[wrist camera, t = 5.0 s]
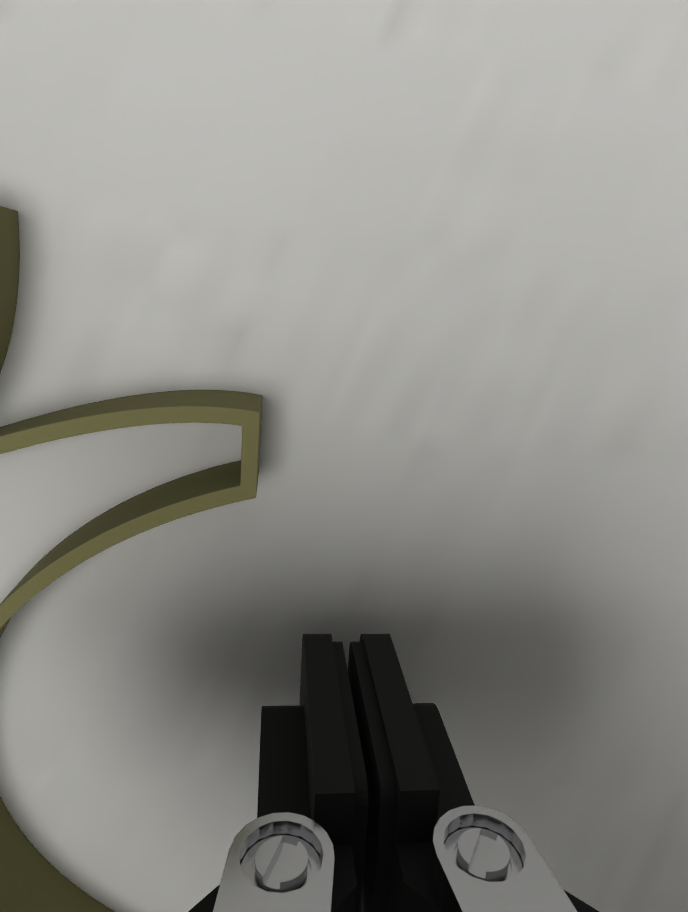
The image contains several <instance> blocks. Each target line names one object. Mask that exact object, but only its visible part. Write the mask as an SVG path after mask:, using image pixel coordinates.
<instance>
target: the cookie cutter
mask: <svg viewBox="0 0 688 912" xmlns="http://www.w3.org/2000/svg"><path fill="white" fill-rule="evenodd" d="M19 259H20V251H19V223H18V211H15V210H11V209H8V208H5V207H1V206H0V372H1V369H2V366H3V363H4V360H5V357H6V353H7V350H8V346H9V342H10V338H11V333H12V328H13V323H14V317H15V311H16V304H17V295H18V283H19ZM261 410H262V395H257V394H251V393H244V392H235V391H222V390H184V391H168V392H158V393H149V394H141V395H134V396H127V397H121V398H115V399H110V400H104V401H99V402H94V403H90V404H85V405H80V406H76V407H72V408H68V409H63V410H60V411H56V412H52V413H48V414H44V415H40V416H37V417H33V418H30V419H26V420H23V421H19V422H16V423H13V424H9V425H6V426H3V427H0V454H2V453H6V452H9V451H13V450H17V449H20V448H24V447H28V446H32V445H36V444H40V443H44V442H49V441H53V440H58V439H62V438H67V437H71V436H77V435H82V434H87V433H92V432H98V431H104V430H111V429H117V428H124V427H132V426H141V425H151V424H164V423H190V422H198V423H223V424H233V425H242V426H243V427H242V455H241V460H240V461H236V462H232V463H228V464H224V465H220V466H216V467H213V468H209V469H206V470H202V471H199V472H196V473H193V474H190V475H187V476H184V477H181V478H178V479H175V480H173V481H170V482H167V483H165V484H162V485H160V486H157V487H155V488H153V489H150V490H148V491H146V492H143V493H141V494H139V495H137V496H135V497H133V498H131V499H129V500H127V501H125V502H123V503H121V504H119V505H117V506H115V507H113V508H112V509H110V510H108V511H106V512H105V513H103V514H101V515H99V516H98V517H96V518H95V519H93V520H91V521H90V522H88V523H87V524H85V525H84V526H82V527H81V528H79V529H78V530H77V531H75V532H74V533H72V534H71V535H70V536H68V537H67V538H66V539H64V540H63V541H62V542H61V543H59V544H58V545H57V546H56V547H55V548H53V549H52V550H51V551H50V552H49V553H48V554H47V555H45V556H44V557H43V558H42V559H41V560H40V561H39V562H38V563H37V564H36V565H35V566H34V567H33V568H32V569H31V570H30V571H29V572H28V573H27V574H26V576H25V577H24V578H23V579H22V580H21V581H20V582H19V583H18V585H17V586H16V587H15V588H14V589H13V590H12V591H11V592H10V594H9V595H8V596H7V597H6V598H5V599H4V600H3V602H2V603H1V604H0V637H1V635H2V633H3V631H4V629H5V627H6V625H7V623H8V622H9V620H10V618H11V617H12V616H13V615H14V614H15V613H16V612H17V611H18V610H19V609H20V608H21V607H22V606H23V605H24V604H25V603H27V602H28V601H29V600H30V599H31V598H32V597H34V596H35V595H36V594H37V593H39V592H40V591H41V590H42V589H44V588H45V587H46V586H48V585H49V584H50V583H52V582H53V581H55V580H56V579H57V578H59V577H60V576H62V575H63V574H65V573H66V572H68V571H69V570H71V569H72V568H74V567H75V566H77V565H79V564H80V563H82V562H84V561H85V560H87V559H89V558H91V557H92V556H94V555H96V554H98V553H100V552H101V551H103V550H105V549H107V548H109V547H111V546H113V545H115V544H117V543H119V542H121V541H124V540H126V539H128V538H130V537H132V536H135V535H137V534H139V533H141V532H144V531H146V530H149V529H151V528H154V527H156V526H159V525H162V524H164V523H167V522H170V521H173V520H176V519H178V518H181V517H184V516H187V515H191V514H194V513H197V512H201V511H204V510H207V509H211V508H215V507H218V506H222V505H226V504H230V503H234V502H239V501H243V500H248V499H253V498H256V492H257V483H258V474H259V456H260V433H261ZM0 912H114V911H113V910H111V909H109V908H108V907H106V906H104V905H103V904H101V903H100V902H98V901H97V900H95V899H94V898H92V897H91V896H89V895H88V894H87V893H85V892H84V891H82V890H81V889H80V888H78V887H77V886H76V885H75V884H73V883H72V882H71V881H69V880H68V879H67V878H66V877H65V876H63V875H62V874H61V873H60V872H59V871H58V870H57V869H56V868H54V867H53V866H52V865H51V864H50V863H49V862H48V861H47V860H46V859H45V858H44V857H43V856H42V855H41V854H40V853H39V852H38V851H37V849H36V848H35V847H34V846H33V845H32V844H31V843H30V841H29V840H28V839H27V838H26V836H25V835H24V834H23V833H22V831H21V830H20V828H19V827H18V826H17V824H16V823H15V821H14V820H13V818H12V817H11V815H10V813H9V812H8V810H7V808H6V807H5V805H4V803H3V801H2V799H1V797H0Z"/></svg>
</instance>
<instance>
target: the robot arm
mask: <svg viewBox="0 0 688 912" xmlns="http://www.w3.org/2000/svg"><path fill="white" fill-rule="evenodd" d="M189 912H599V911H597V910H595V909H594V908H592V907H591V906H589V905H587V904H586V903H584V902H583V901H581V900H579V899H578V898H576V897H574V896H573V895H571V894H570V893H568V892H566V891H565V890H563V888H562V887H561V885H560V884H559V882H558V881H557V879H556V877H555V876H554V874H553V873H552V871H551V870H550V868H549V866H548V865H547V863H546V862H545V860H544V859H543V857H542V855H541V854H540V852H539V851H538V849H537V848H536V846H535V844H534V843H533V841H532V840H531V838H530V837H529V836H528V834H527V833H526V832H525V831H524V830H523V828H522V827H521V826H520V825H519V824H518V823H516V822H515V821H514V820H512V819H511V818H510V817H508V816H507V815H505V814H503V813H500V812H498V811H496V810H494V809H491V808H486V807H481V806H474V803H473V800H472V798H471V795H470V792H469V790H468V787H467V784H466V782H465V779H464V777H463V774H462V771H461V769H460V766H459V763H458V761H457V758H456V756H455V753H454V750H453V748H452V745H451V742H450V740H449V737H448V734H447V732H446V729H445V727H444V724H443V721H442V719H441V716H440V713H439V711H438V709H437V707H436V705H435V704H433V703H415V704H412V701H411V698H410V695H409V692H408V689H407V686H406V683H405V679H404V676H403V673H402V670H401V667H400V664H399V661H398V658H397V655H396V652H395V648H394V645H393V642H392V639H391V636H390V634H361V636H360V641H359V642H350V646H349V661H348V670H347V665H346V659H345V654H344V648H343V643H342V642H332V636H331V634H303V638H302V660H301V685H300V706H262V713H261V738H260V763H259V787H258V812H257V819H255V820H254V821H252V822H250V823H249V824H247V825H245V827H244V828H243V829H242V830H241V831H240V832H239V833H238V834H237V835H236V836H235V838H234V840H233V843H232V845H231V847H230V849H229V853H228V856H227V860H226V864H225V868H224V871H223V875H222V879H221V883H220V885H219V886H217V887H216V888H215V889H214V890H213V891H212V892H211V893H209V894H208V895H207V896H206V897H205V898H204V899H202V900H201V901H200V902H199V903H198V904H197V905H195V906H194V907H193V908H192V909H191V910H190V911H189Z"/></svg>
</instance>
